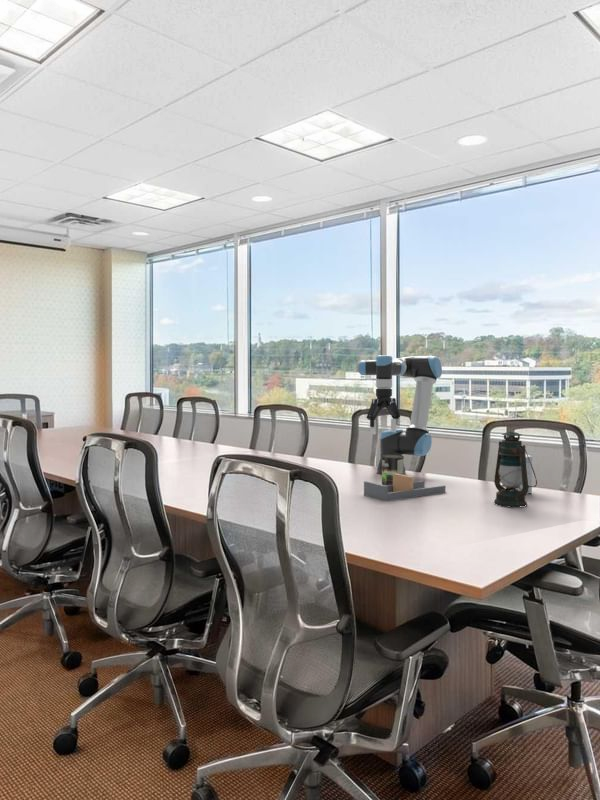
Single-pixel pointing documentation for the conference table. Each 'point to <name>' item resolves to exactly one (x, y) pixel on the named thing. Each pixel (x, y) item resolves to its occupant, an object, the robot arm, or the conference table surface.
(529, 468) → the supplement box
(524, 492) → the lantern
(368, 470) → the conference table surface
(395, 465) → the coffee can
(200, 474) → the conference table surface
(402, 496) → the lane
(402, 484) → the block
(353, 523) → the conference table surface
